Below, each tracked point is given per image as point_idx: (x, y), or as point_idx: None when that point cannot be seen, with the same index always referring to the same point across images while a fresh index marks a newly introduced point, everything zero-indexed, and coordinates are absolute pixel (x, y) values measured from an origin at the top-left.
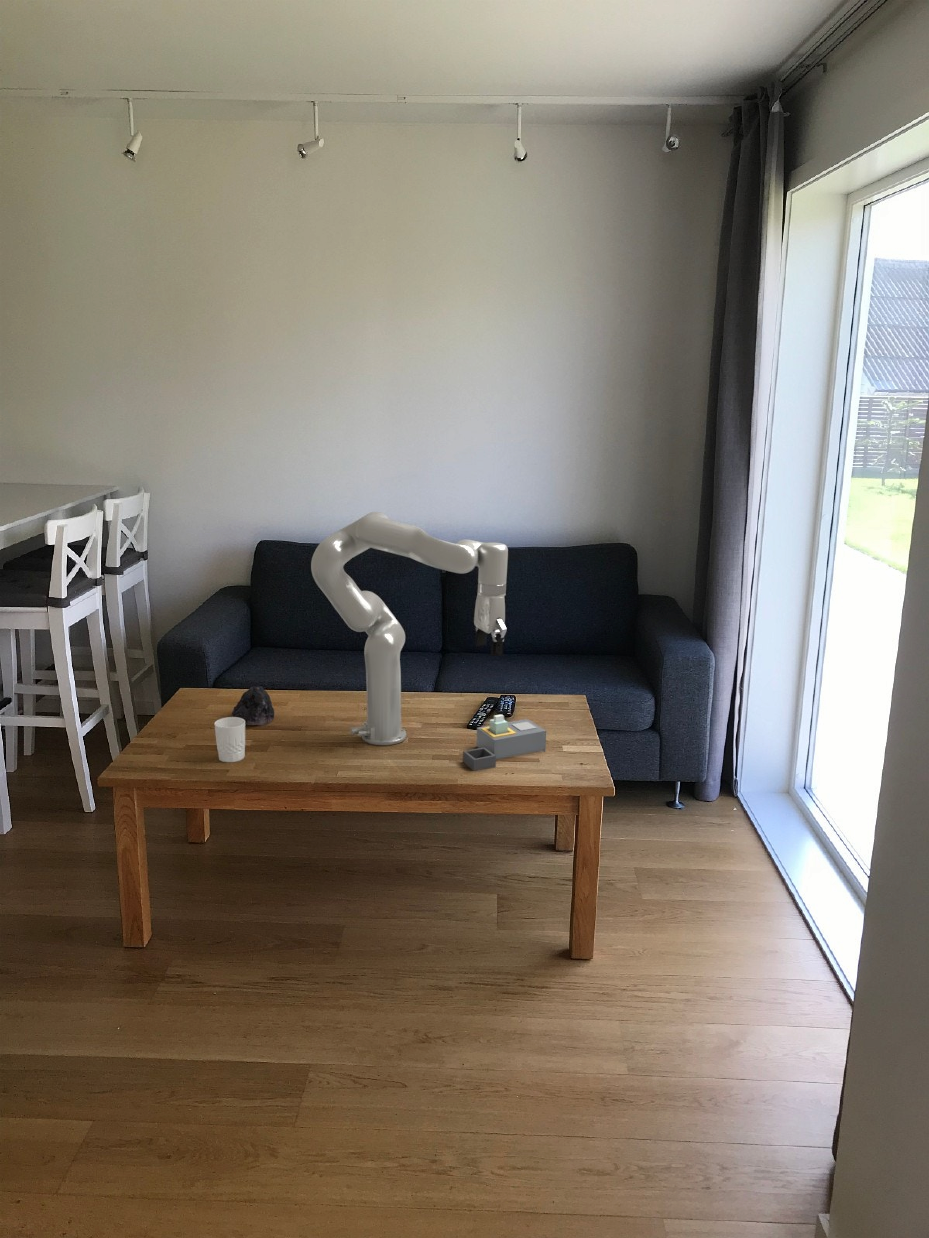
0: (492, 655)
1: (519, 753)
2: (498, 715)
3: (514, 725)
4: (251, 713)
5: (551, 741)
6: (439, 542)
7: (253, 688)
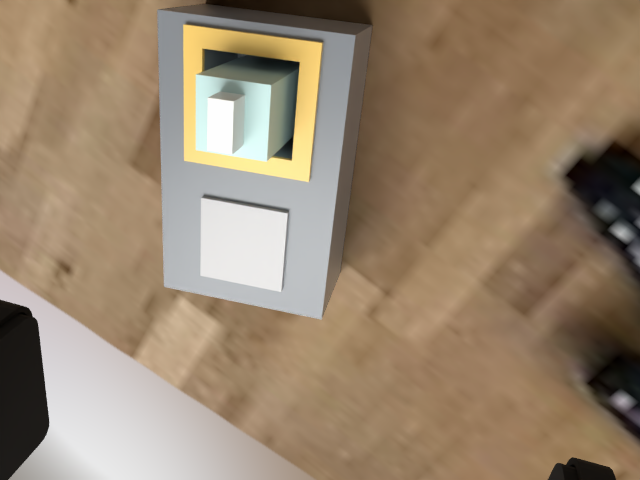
0: (1, 307)
1: None
2: (224, 127)
3: (268, 214)
4: None
5: (271, 323)
6: None
7: None
